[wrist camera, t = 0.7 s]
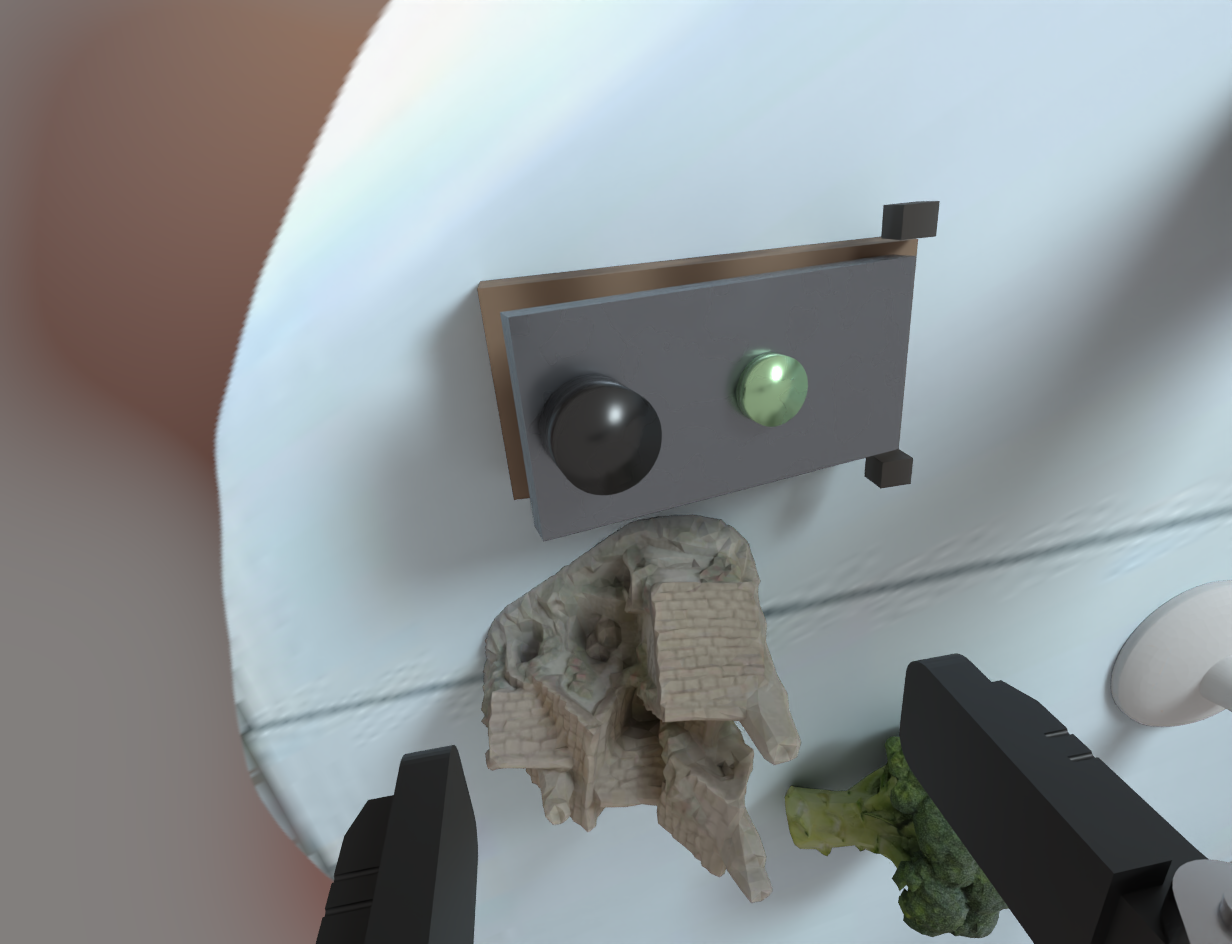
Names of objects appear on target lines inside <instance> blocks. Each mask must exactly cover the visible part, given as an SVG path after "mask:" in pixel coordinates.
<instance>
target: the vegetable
mask: <svg viewBox="0 0 1232 944" xmlns="http://www.w3.org/2000/svg"><path fill="white" fill-rule="evenodd" d="M885 749H886V754H887V760H888V762H887V764H886V765H884V766H883V767H881V768H879V769H878V770H876V771H874V772H873V773H871V774H869V775H868V776H866V777H865V778H864V779H863V780H861V781H860V782H859V783H857V784H856V785H854V786H853V787H851V788H850V789H849V790H847V791H830V790H821V789H810V788H800V787H794V786H791V787H790V788H789V789H788V790H787V793H786V795H785V808H786V815H787V820H788V825H789V830H790V834H791V836H792V839H793V842H794V844H795V845H796V846H797V847H798V848H800V849H817V850H818V851H819V852H821V853H822V854H823V855H826V856H828V855H829V854H830V852H831V849H832V848H834V847H843V846H853V845H855V846H856V847H857V848H858V849H859V850H860V851H863V850H865V849H866V850H868V851H871V852H873V853H876V854H882V855H883V856H885V857H887V858H888V859H890V860H891V861H892V862H893V863H894V865H895V866H896V867H897V870H896V872H895V874H894V876H893V878H892V879H893V881H894V882H895V883H896V885H897V886H898V888H899V891H900V890H901V889H902V888H904V887H905V886H906V885H907V886H908V891H907V890H906V889H905V888H904V890H903V892H902V893H901V896H899V900H898V903H899V905H900V908H901V910H902V912H903V914H904V919H903V921H904V922H905V923H906V924H907V925H908V926H909V927H910V928H912V929H914V930H916V931H917V932H919V933H921V934H923V935H928V936H930V937H934V936H938V935H941V934H944V933H948V932H949V933H951V934H953V935H954V936H959V935H960V936H965V937H970V938H983V937H985V936H988V935H989V934H990V933H991V932H992V931H993V929H994V927H995V926H996V924H997V921H998V918H999V911H1001V910H1002V909H1007V908H1009V907H1008V906H1007V905H1006V903H1005V902H1004V900H1003V899H1002V898H1001V896H1000V895H999V893H998V892H997V891H996V889H995V888H994V886H993V885H992V884H991V882H990V881H989V879H988V878H987V877H986V875H985V874H984V872H983V871H982V870H981V868H980V867H979V865H978V864H977V863H976V861H975V860H974V858H973V857H972V856H971V854H970V853H969V851H968V850H967V849H966V847H965V846H964V844H963V843H962V842H961V840H960V839H959V837H958V836H957V835H956V833H955V832H954V830H953V829H952V827H951V826H950V825H949V823H948V822H947V820H946V819H945V818H944V816H943V815H942V813H941V812H940V811H939V809H938V808H937V806H936V805H935V804H934V802H933V801H932V799H931V798H930V797H929V795H928V794H927V792H926V791H925V790H924V788H923V787H922V785H921V784H920V783H919V781H918V780H917V778H916V777H915V776H914V774H913V773H912V771H911V769H910V768H909V766H908V764H907V762H906V759H905V757H904V754H903V751H902V748H901V743H900V737H896V736H892V737H889V738H888V739H887V740H886V742H885Z"/></svg>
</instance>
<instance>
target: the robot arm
mask: <svg viewBox="0 0 1232 944" xmlns="http://www.w3.org/2000/svg"><path fill="white" fill-rule="evenodd" d="M899 736H900V743H901V748H902V751H903V754H904V757H905V759H906V762H907V764H908V766H909V768H910V769H911V771H912V773H913V774H914V776H915V777H916V778H917V780H918V781H919V783H920V784H921V785H922V787H923V788H924V790H925V791H926V792H927V794H928V795H929V797H930V798H931V799H932V801H933V802H934V804H935V805H936V806H937V808H938V809H939V811H940V812H941V813H942V815H943V816H944V818H945V819H946V820H947V822H948V823H949V825H950V826H951V827H952V829H953V830H954V832H955V833H956V835H957V836H958V837H959V839H960V840H961V842H962V843H963V844H964V846H965V847H966V849H967V850H968V851H969V853H970V854H971V856H972V857H973V858H974V860H975V861H976V863H977V864H978V865H979V867H980V868H981V870H982V871H983V872H984V874H985V875H986V877H987V878H988V879H989V881H990V882H991V884H992V885H993V886H994V888H995V889H996V891H997V892H998V893H999V895H1000V896H1001V898H1002V899H1003V900H1004V902H1005V903H1006V905H1007V906H1008V907H1009V909H1010V910H1011V912H1012V913H1013V914H1014V916H1015V917H1016V919H1017V920H1018V921H1019V923H1020V924H1021V926H1022V927H1023V928H1024V930H1025V931H1026V933H1027V934H1028V936H1029V937H1030V938H1031V940H1032V941H1033V943H1034V944H1232V863H1229V862H1224V861H1219V860H1209V859H1208V858H1206V857H1205V856H1204V855H1203V854H1202V853H1201V852H1199V851H1198V850H1197V849H1196V848H1195V847H1194V846H1193V845H1192V844H1190V843H1189V842H1188V841H1187V840H1186V839H1185V838H1184V837H1183V836H1182V835H1181V834H1180V833H1179V832H1178V831H1177V830H1175V829H1174V828H1173V827H1172V826H1171V825H1170V824H1169V823H1168V822H1167V821H1166V820H1165V819H1164V818H1163V817H1162V816H1160V815H1159V814H1158V813H1157V812H1156V811H1155V810H1154V809H1153V808H1152V807H1151V806H1150V805H1149V804H1148V803H1147V802H1145V801H1144V800H1143V799H1142V798H1141V797H1140V796H1139V795H1138V794H1137V793H1136V792H1135V791H1134V790H1133V789H1131V788H1130V787H1129V786H1128V785H1127V784H1126V783H1125V782H1124V781H1123V780H1122V779H1121V778H1120V777H1119V776H1118V775H1116V774H1115V773H1114V772H1113V771H1112V770H1111V769H1110V768H1109V767H1108V766H1107V765H1106V764H1105V763H1104V762H1103V761H1101V760H1100V759H1099V758H1095V757H1094V756H1093V755H1092V751H1091V750H1090V749H1089V748H1088V747H1086V746H1085V745H1084V744H1083V743H1082V742H1081V741H1080V740H1079V739H1078V738H1077V737H1076V736H1075V735H1074V734H1071V735H1070V734H1069V733H1068V731H1067V728H1066V727H1065V726H1064V725H1063V724H1062V723H1061V722H1060V721H1059V720H1058V719H1056V718H1055V717H1054V716H1053V715H1052V714H1051V713H1050V712H1049V711H1048V710H1047V709H1046V708H1045V707H1044V706H1043V705H1041V704H1040V703H1039V702H1038V701H1037V700H1035V699H1033V698H1031V697H1030V696H1028V695H1026V694H1024V693H1023V692H1021V691H1019V690H1017V689H1015V688H1014V687H1012V686H1010V685H1008V684H1007V683H1005V682H1003V681H1001V680H1000V681H995V682H991V681H990V680H989V679H988V678H987V677H986V676H985V675H984V674H983V673H982V672H981V671H980V670H979V669H978V668H977V667H976V666H975V665H974V664H973V663H972V662H971V661H969V660H968V659H967V658H966V657H964V656H963V655H960V654H950V655H945V656H939V657H934V658H929V659H923V660H918V661H913V662H911V663H910V664H909V665H908V667H907V670H906V677H905V686H904V695H903V703H902V712H901V721H900V729H899ZM477 865H478V842H477V829H476V821H475V816H474V811H473V807H472V803H471V799H470V796H469V792H468V788H467V784H466V780H465V776H464V772H463V768H462V764H461V760H460V757H459V753H458V750H457V748H456V746H455V745H452V746H446V747H441V748H435V749H430V750H425V751H419V752H414V753H408V754H405V755H404V756H403V757H402V760H401V763H400V767H399V772H398V777H397V782H396V787H395V792H394V795H392V796H387V797H382V798H377V799H371V800H368V801H367V803H366V804H365V806H364V807H363V809H362V810H361V812H360V813H359V815H358V816H357V818H356V819H355V821H354V822H353V824H352V825H351V827H350V828H349V830H348V831H347V833H346V834H345V836H344V839H343V843H342V847H341V851H340V854H339V858H338V862H337V866H336V869H335V873H334V883H332V884H331V888H330V892H329V896H328V899H327V903H326V907H325V910H326V913H325V917H323V918H322V922H321V926H320V929H319V934H318V937H317V941H316V944H473V943H474V923H475V904H476V885H477Z"/></svg>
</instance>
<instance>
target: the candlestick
mask: <svg viewBox="0 0 1232 944" xmlns="http://www.w3.org/2000/svg"><path fill="white" fill-rule="evenodd" d="M1111 692H1112V696H1113V699H1114V701H1115V703H1116V705H1117V706H1118V708H1119V709H1120V710H1121V711H1122V712H1124V713H1125V714H1126V715H1127V716H1128V717H1130V718H1131V719H1133V720H1134V721H1136V722H1138V723H1141V724H1144V725H1148V726H1156V727H1170V726H1179V725H1185V724H1190V723H1194V722H1197V721H1201V720H1204V719H1206V718H1208V717H1211V716H1213V715H1215V714H1217V713H1219V712H1221V711H1223V710H1225V709H1228V710H1229V711H1231V712H1232V580H1223V581H1216V582H1211V583H1206V584H1203V585H1200V586H1197V587H1195V588H1192V589H1190V590H1187V591H1185V592H1183V593H1181V594H1179V595H1178V596H1176V597H1174V598H1172V599H1171V600H1169V601H1168V602H1166V603H1165V604H1163V605H1162V606H1160V607H1159V608H1158V609H1157V610H1155V611H1154V612H1153V613H1152V614H1151V615H1149V616H1148V617H1147V618H1146V619H1145V620H1144V621H1143V622H1142V623H1141V624H1140V625H1139V626H1138V627H1137V629H1136V630H1135V631H1134V632H1133V633H1132V635H1131V636H1130V637H1129V639H1128V640H1127V641H1126V643H1125V644H1124V646H1123V648H1122V649H1121V651H1120V653H1119V655H1118V657H1117V659H1116V662H1115V665H1114V668H1113V672H1112V677H1111Z"/></svg>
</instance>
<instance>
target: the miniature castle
mask: <svg viewBox="0 0 1232 944" xmlns="http://www.w3.org/2000/svg"><path fill="white" fill-rule="evenodd" d="M759 583H760V579H759V576H758V573H757V570H756V566H755V561H754V559H753V556H752V554H751V551H750V546H749V544H748V542H747V540H746V539H745V538H744V537H742V536H741V535H740V534H739V533H738V532H737V531H736V530H735V528H733V527H732V526H730V525H726V524H725V523H724V522H723V521H722V520H718V519H713V518H708V517H703V516H697V515H676V516H663V517H658V518H651V519H650V520H639V521H635V522H631V523H629V524H627V525H626V526H624V527H623V528H621V529H620V530H619V531H616V532H615V533H614V534H612V535H610V536H609V537H607V538H606V539H605V540H604V541H602V542H601V543H600V544H599V543H598V544H597V545H596V546H595V547H593V548H591V550H590V551H589V552H586V553H584V554H583V555H582V556H580V557H579V558H577V559H576V560H574V561H573V562H572V563H571V564H570V565H567V566H564V567H563V568H562V569H561V570H560V571H559V572H558V573H556V575H554V576H551V577H549V578H548V580H545V581H544V582H542V583H541V584H539V585H538V586H536V587H535V588H533V589H532V590H530V591H529V592H528V593H526V594H524V595H523V596H522V597H520V598H519V599H517V600H516V601H514V602H512V603H511V604H509V605H507V606H506V607H505V609H504V610H503V611H502V612H501V613H500V614H499V615H498V616H497V617H496V618H495V619H494V621H493V623H492V625H491V627H490V630H489V631H488V638H487V639H486V640H485V642H486V646H485V648H486V652H485V653H486V657H487V660H486V663H485V666H484V671H483V672H484V673H485V675H484V685H483V691H484V699H483V702H482V708H481V710H482V711H483V713H484V714H485V716H484V718H483V719H482V721H481V722H482V723H483V724H485V725H486V727H487V728H488V736H489V747H490V749H489V750H488V751H487V752H486V753H485V755H486V764H487V767H488V769H490V770H492V771H493V770H496V769H501V768H523V769H524V768H526V772H527V773H528V774H529V775H530V776H531V780H532V783H534V784H537V785H538V787H539V788H541V793H542V801H543V808H544V812H545V817H546V818H547V819H548V820H549V821H550V822H551V823H552V824H553V825H556V824H561V823H563V822H565V821H566V820H567V819H568V818H569V816H570V817H571V818H572V820H573V821H574V822H576V823H577V824H579V825H581V826H582V827H583V828H584V829H585V830H586V831H587V832H589V831H591V830H592V829H593V828H594V827H595V826H596V820H597V817H598V816H599V815H600V814H601V812H602V811H603V809H604V808H605V807H628V806H634V805H640V804H646V805H656V806H657V817H658V824H660V825H661V826H662V827H663V828H664V829H665V830H667V831H668V832H669V833H670V834H672V837H673V838H674V839H676V840H677V841H678V842H679V843H681V844H682V845H683V846H684V847H686V848H687V849H688V850H689V851H690V852H691V853H692V854H693V855H694V857H695V858H696V859H698V860H700V861H701V864H702V866H703V867H704V868H706V869H707V870H708V871H709V872H710V873H711V874H713V875H716V876H718V877H721V876H722V875H723V874H725V870H726V869H727V871H728V872H729V874H730V875H731V876H732V878H733V879H734V881H735V882H736V884H737V885H738V886H739V888H740V889H741V891H742V892H743V893H744V894H745V896H746V897H747V898H748V899H749V901H750V902H751V903H753V902H760V901H762V900H764V899H765V898H767V897H768V896H769V895H770V894H771V892H772V890H773V888H772V885H771V883H770V880H769V878H768V875H767V873H766V870H765V868H764V867H765V862H766V854H765V851H764V848H763V845H762V842H761V839H760V836H759V834H758V832H757V830H756V828H755V827H754V825H753V823H752V821H751V819H750V817H749V815H748V812H747V810H746V808H745V798H744V796H745V794H746V785H747V782H748V779H749V775H750V773H751V772H752V770H753V757H754V751H753V749H752V748H750V747H749V746H748V745H746V744H745V743H744V740H743V737H742V734H741V731H740V730H739V729H738V727H737V726H736V725H735V723H734V721H740V723H741V724H742V726H743V727H744V729H745V730H746V731H747V733H748V734H749V736H750V738H751V739H752V741H753V742H754V744H755V745H756V747H757V748H758V750H759V751H760V753H761V754H762V756H763V757H764V759H766V760H767V761H769V762H770V763H772V764H773V765H776V764H780V763H784V762H787V761H791V760H793V759H795V758H796V757H797V755H798V752H799V748H800V745H801V740H800V738H799V735H798V732H797V729H796V727H795V724H794V721H793V719H792V716H791V713H790V711H789V703H788V694H787V692H786V690H785V688H784V686H783V685H782V683H781V681H780V679H779V677H778V676H777V674H776V671H775V667H774V664H773V661H772V658H771V655H770V652H769V649H768V647H767V644H766V629H767V623H766V619H765V617H764V614H763V612H762V609H761V607H760V603H759V597H758V586H759Z"/></svg>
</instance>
